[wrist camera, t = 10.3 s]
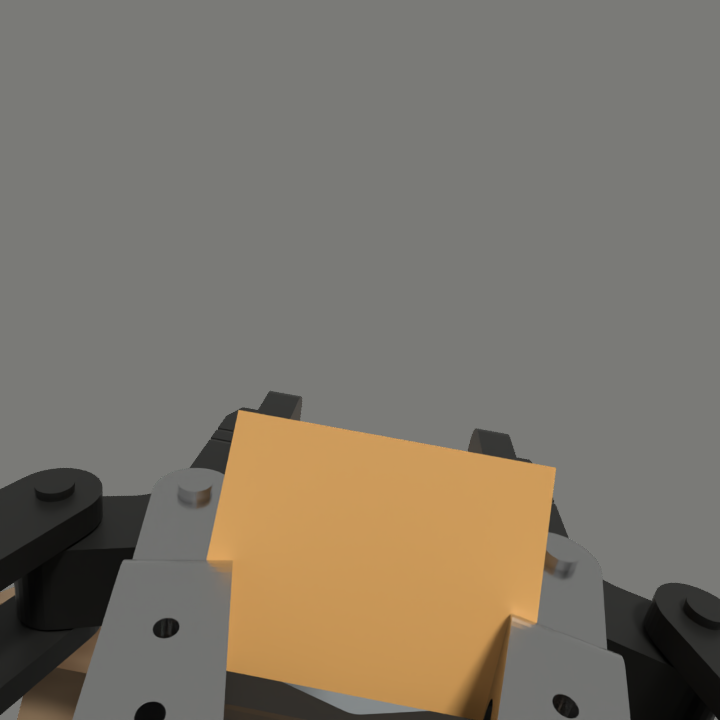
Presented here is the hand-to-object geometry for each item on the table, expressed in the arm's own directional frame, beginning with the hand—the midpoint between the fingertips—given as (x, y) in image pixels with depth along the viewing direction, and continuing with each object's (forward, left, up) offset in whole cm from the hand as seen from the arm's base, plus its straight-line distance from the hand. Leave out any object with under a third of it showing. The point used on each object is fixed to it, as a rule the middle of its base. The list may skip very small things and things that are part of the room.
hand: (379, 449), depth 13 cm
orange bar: (0, -5, -3) cm, 6 cm away
